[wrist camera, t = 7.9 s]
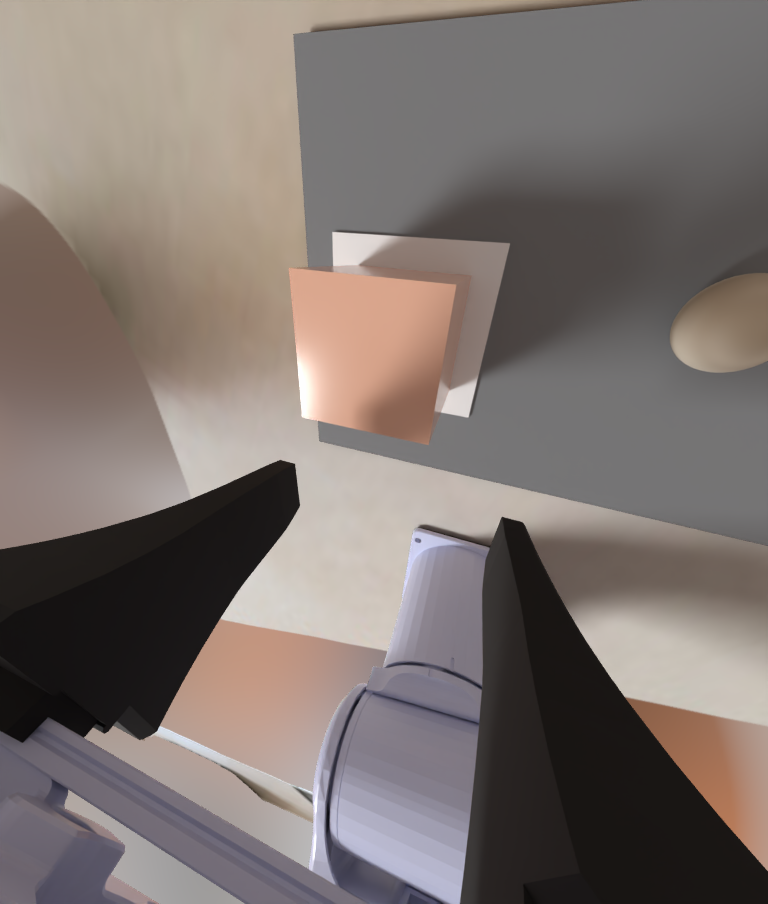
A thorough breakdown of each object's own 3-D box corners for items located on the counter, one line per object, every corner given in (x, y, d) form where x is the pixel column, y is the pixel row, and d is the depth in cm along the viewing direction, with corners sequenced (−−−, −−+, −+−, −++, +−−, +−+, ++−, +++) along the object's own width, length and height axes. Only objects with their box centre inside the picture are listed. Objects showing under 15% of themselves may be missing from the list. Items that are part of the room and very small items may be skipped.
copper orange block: (449, 390, 16) (428, 445, 12) (356, 374, 18) (302, 417, 13) (471, 275, 13) (456, 285, 9) (358, 264, 15) (289, 268, 10)
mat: (792, 544, 16) (805, 557, 15) (323, 437, 22) (317, 442, 21) (1530, -67, 6) (1651, -104, 5) (301, 42, 12) (290, 31, 11)
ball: (727, 364, 13) (787, 392, 10) (639, 353, 13) (673, 376, 11) (790, 275, 11) (881, 280, 8) (684, 267, 11) (737, 270, 9)
